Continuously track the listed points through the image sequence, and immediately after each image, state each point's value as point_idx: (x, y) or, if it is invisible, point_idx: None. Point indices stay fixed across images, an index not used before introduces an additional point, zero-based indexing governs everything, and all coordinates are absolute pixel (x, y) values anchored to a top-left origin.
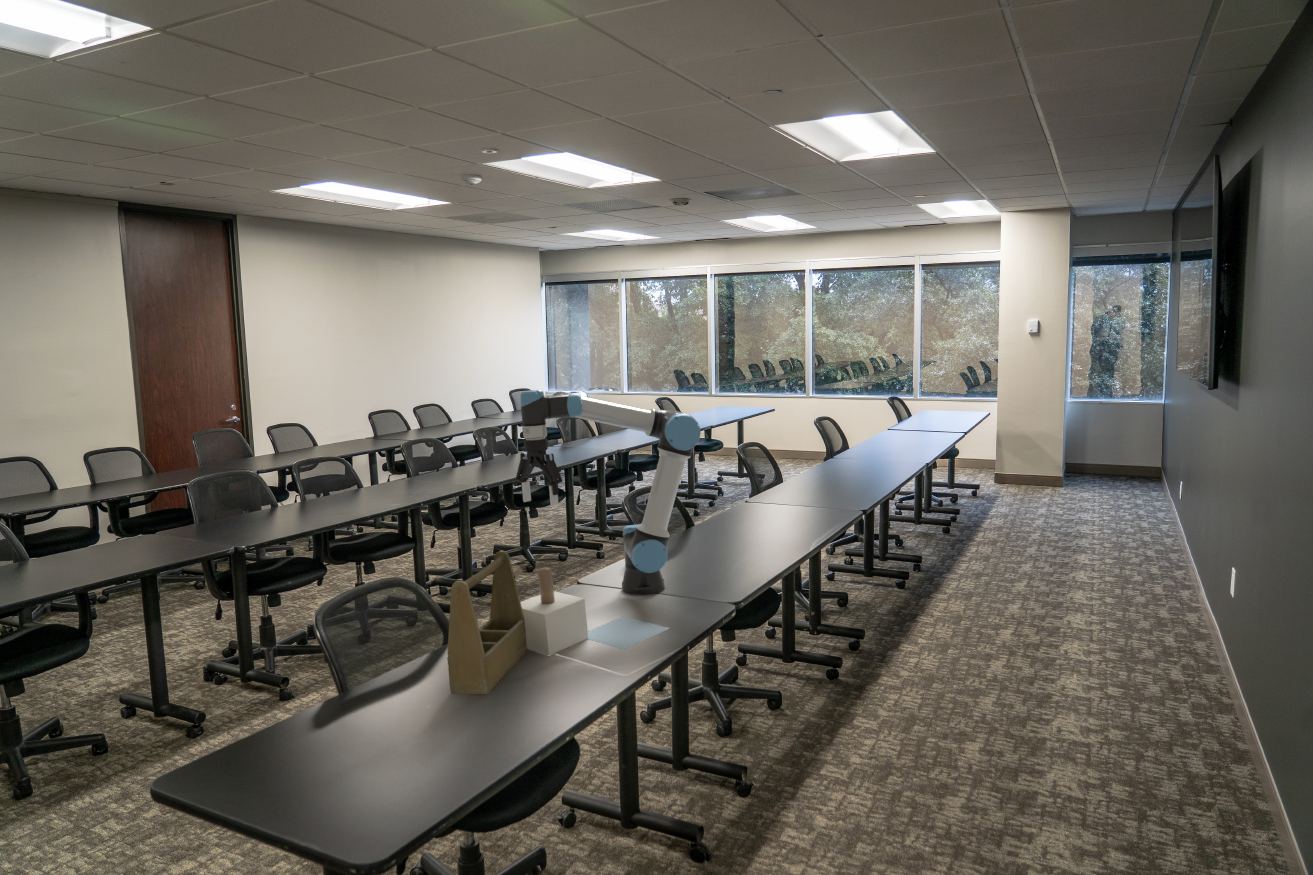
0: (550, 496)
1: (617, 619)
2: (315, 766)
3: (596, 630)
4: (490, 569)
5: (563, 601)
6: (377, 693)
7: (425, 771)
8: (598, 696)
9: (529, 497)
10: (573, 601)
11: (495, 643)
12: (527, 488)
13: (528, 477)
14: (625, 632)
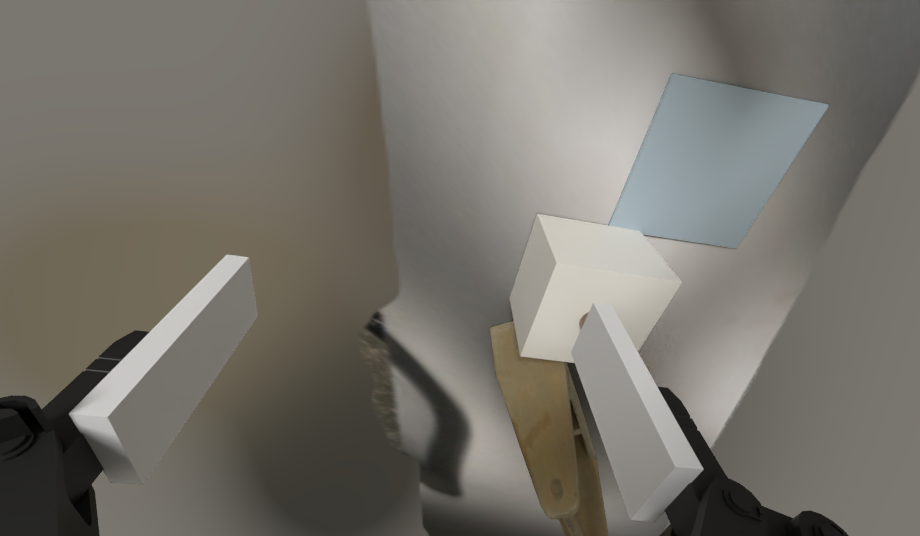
0: (600, 412)
1: (665, 101)
2: (518, 518)
3: (639, 187)
4: (582, 532)
5: (633, 309)
6: (445, 449)
7: (617, 499)
8: (735, 375)
9: (236, 290)
10: (660, 303)
11: (581, 431)
12: (182, 371)
13: (59, 491)
14: (714, 172)
